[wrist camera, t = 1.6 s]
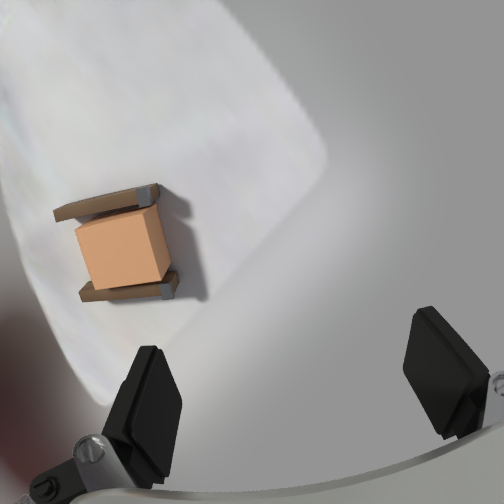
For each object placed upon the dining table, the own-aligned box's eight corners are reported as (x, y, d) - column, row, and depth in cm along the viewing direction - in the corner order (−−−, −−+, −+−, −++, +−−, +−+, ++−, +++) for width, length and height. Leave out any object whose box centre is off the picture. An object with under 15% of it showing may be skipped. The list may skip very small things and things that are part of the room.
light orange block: (93, 217, 27) (74, 230, 23) (156, 202, 27) (142, 213, 23) (110, 272, 29) (95, 289, 25) (171, 262, 29) (161, 280, 25)
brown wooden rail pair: (65, 202, 26) (49, 210, 23) (157, 180, 26) (146, 186, 23) (92, 292, 30) (80, 306, 27) (179, 283, 29) (173, 299, 27)
